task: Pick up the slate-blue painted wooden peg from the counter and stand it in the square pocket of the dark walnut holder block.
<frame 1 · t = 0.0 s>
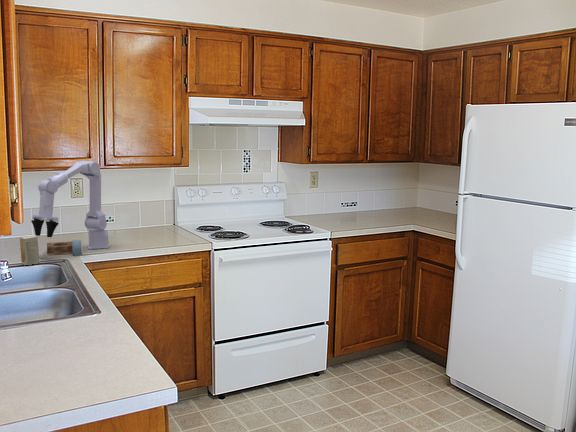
hand: (43, 236, 259), 11 cm above the countertop, tool pointing down, fingers open, 7 cm apart
walnut holder: (60, 252, 276), on the countertop
peg: (77, 255, 270), on the countertop
skincare box: (30, 264, 250), on the countertop
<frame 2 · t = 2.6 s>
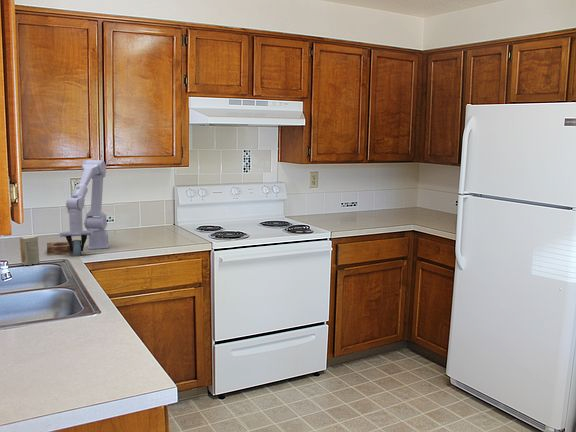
hand: (77, 251, 270), 2 cm above the countertop, tool pointing down, fingers closed on peg, 4 cm apart
peg: (77, 255, 270), on the countertop, touching gripper
everything else where it was.
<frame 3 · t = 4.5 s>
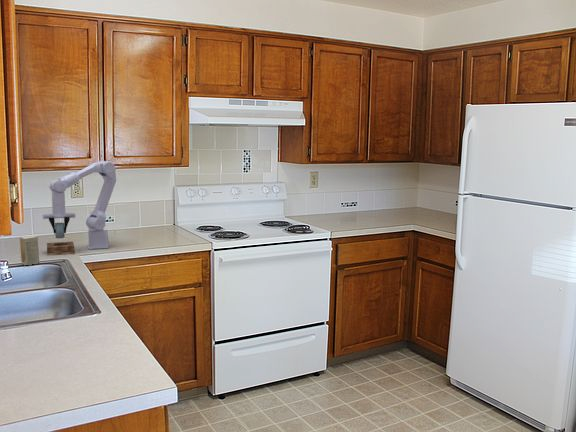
hand: (59, 233, 275), 9 cm above the countertop, tool pointing down, fingers closed on peg, 4 cm apart
peg: (60, 237, 275), point 7 cm above the countertop, touching gripper
everything else where it was.
when the fingers open (4 cm above the countertop, at t = 6.3 s): peg stays where it is, resting on walnut holder.
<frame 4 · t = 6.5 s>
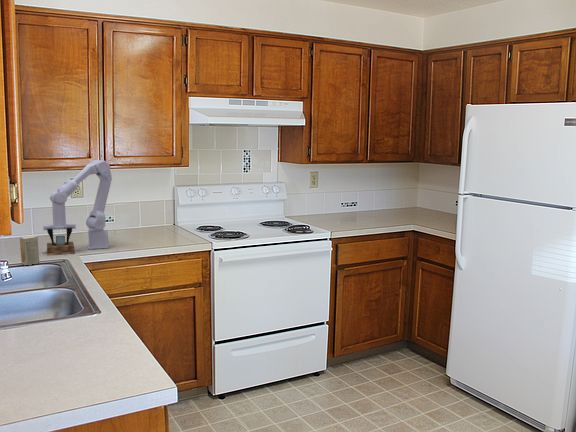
hand: (60, 244, 276), 4 cm above the countertop, tool pointing down, fingers open, 6 cm apart
peg: (60, 250, 276), point 1 cm above the countertop, touching walnut holder
everything else where it was.
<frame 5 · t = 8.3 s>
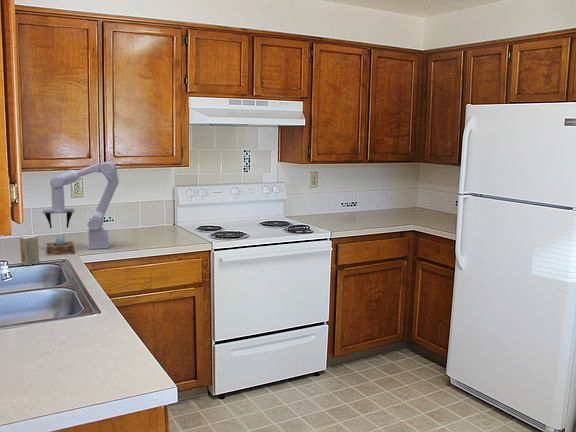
hand: (59, 227, 284), 10 cm above the countertop, tool pointing down, fingers open, 7 cm apart
nothing on the countertop moved.
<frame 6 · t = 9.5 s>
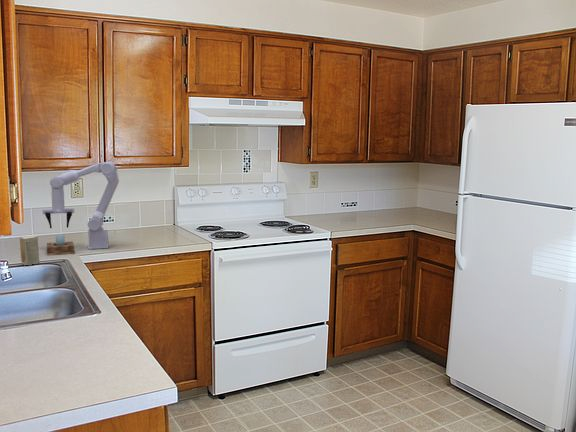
hand: (59, 227, 284), 10 cm above the countertop, tool pointing down, fingers open, 7 cm apart
nothing on the countertop moved.
at the end: peg 0.3 cm off-centre on the walnut holder, point 0.8 cm above the walnut holder's base; peg tilted 0°; the gripper is holding nothing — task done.
